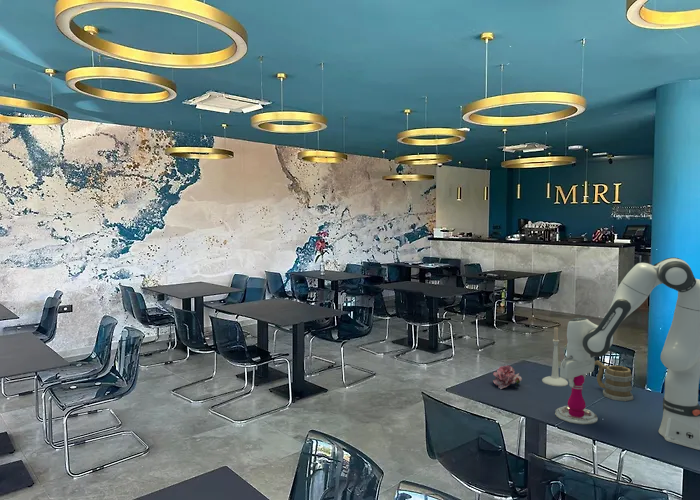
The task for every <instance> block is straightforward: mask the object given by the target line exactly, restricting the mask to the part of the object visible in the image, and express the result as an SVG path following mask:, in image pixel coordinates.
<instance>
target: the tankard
mask: <svg viewBox="0 0 700 500" xmlns="http://www.w3.org/2000/svg"><path fill="white" fill-rule="evenodd" d="M594 366H598V372H597V376H596V381H597V382H596V383H597V384H598V386H599V387H600V388H602V395H603V396H604V397H605V398H608V399H610V400H612V401H620V402H629V401H633V400H634V396H633V393H632V390H633V386H632V381H633V375H632V371H631V369H630V368H628V367H625V366H623V365H616V364H615V365H605V364H604V363H602V361H600V360H598V359H597V360H595V362H594ZM604 370H605V371H604ZM603 375H604V376H605V380H604V383H603V379H602V377H603Z"/></svg>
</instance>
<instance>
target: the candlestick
mask: <svg viewBox="0 0 700 500" xmlns="http://www.w3.org/2000/svg"><path fill="white" fill-rule="evenodd" d="M558 337H559V328H558V327H557V326H556V327H554V328H553V339H552V343H553V353H552V367H551V375H548V376H545V377H543V378H542V379H541V382H542V383H543V384H545V385H549V386H553V387H566V386H568V385H569V381H568V379H564V378H561V377H560V369H559V347H558V345H559V342H560V340H559V338H558Z"/></svg>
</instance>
